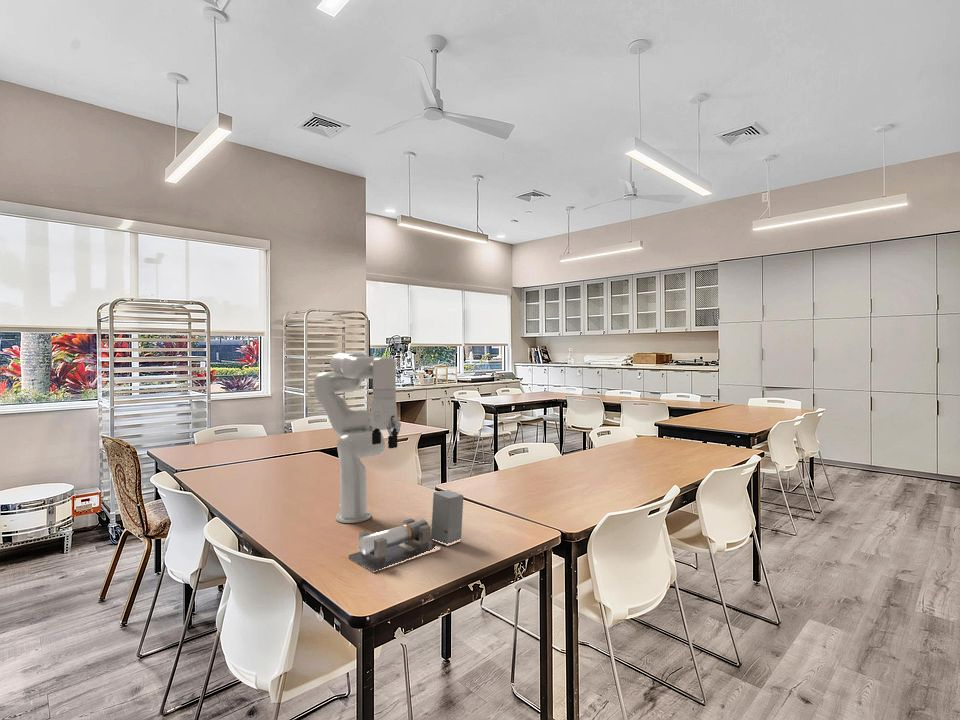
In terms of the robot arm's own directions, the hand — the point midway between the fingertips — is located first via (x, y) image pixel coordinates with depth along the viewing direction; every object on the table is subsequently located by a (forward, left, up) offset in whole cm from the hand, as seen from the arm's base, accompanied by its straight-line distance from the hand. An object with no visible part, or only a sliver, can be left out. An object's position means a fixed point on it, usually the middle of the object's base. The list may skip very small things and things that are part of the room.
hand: (384, 445), depth 170 cm
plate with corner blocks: (+15, -6, -30) cm, 34 cm away
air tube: (+15, -6, -25) cm, 30 cm away
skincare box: (+18, +12, -31) cm, 37 cm away
